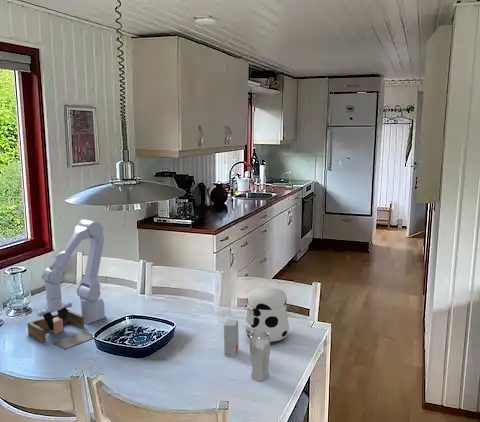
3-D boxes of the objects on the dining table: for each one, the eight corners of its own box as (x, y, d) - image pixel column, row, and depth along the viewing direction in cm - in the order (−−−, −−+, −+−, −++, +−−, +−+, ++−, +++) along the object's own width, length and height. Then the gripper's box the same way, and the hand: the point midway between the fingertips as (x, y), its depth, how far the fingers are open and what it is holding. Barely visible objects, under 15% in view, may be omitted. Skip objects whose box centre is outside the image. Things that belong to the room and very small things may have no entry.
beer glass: (248, 372, 167) (248, 330, 165) (269, 370, 168) (268, 329, 165) (251, 382, 161) (250, 339, 158) (271, 381, 161) (271, 338, 159)
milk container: (294, 332, 199) (294, 290, 196) (279, 350, 183) (279, 304, 180) (255, 325, 206) (255, 284, 203) (238, 342, 191) (237, 298, 187)
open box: (69, 320, 214) (68, 309, 213) (101, 335, 198) (100, 323, 198) (28, 334, 200) (27, 322, 200) (59, 351, 185) (58, 339, 184)
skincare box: (235, 357, 178) (235, 326, 176) (224, 356, 179) (223, 325, 177) (238, 349, 184) (238, 319, 182) (227, 348, 185) (227, 318, 183)
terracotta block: (58, 328, 206) (57, 317, 205) (63, 330, 204) (62, 319, 203) (49, 331, 203) (48, 320, 202) (54, 333, 201) (53, 322, 200)
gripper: (64, 290, 209) (67, 320, 211) (32, 299, 198) (35, 330, 200) (73, 293, 204) (76, 324, 207) (40, 303, 193) (43, 335, 196)
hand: (56, 327), depth 203 cm, fingers closed on terracotta block, 4 cm apart
